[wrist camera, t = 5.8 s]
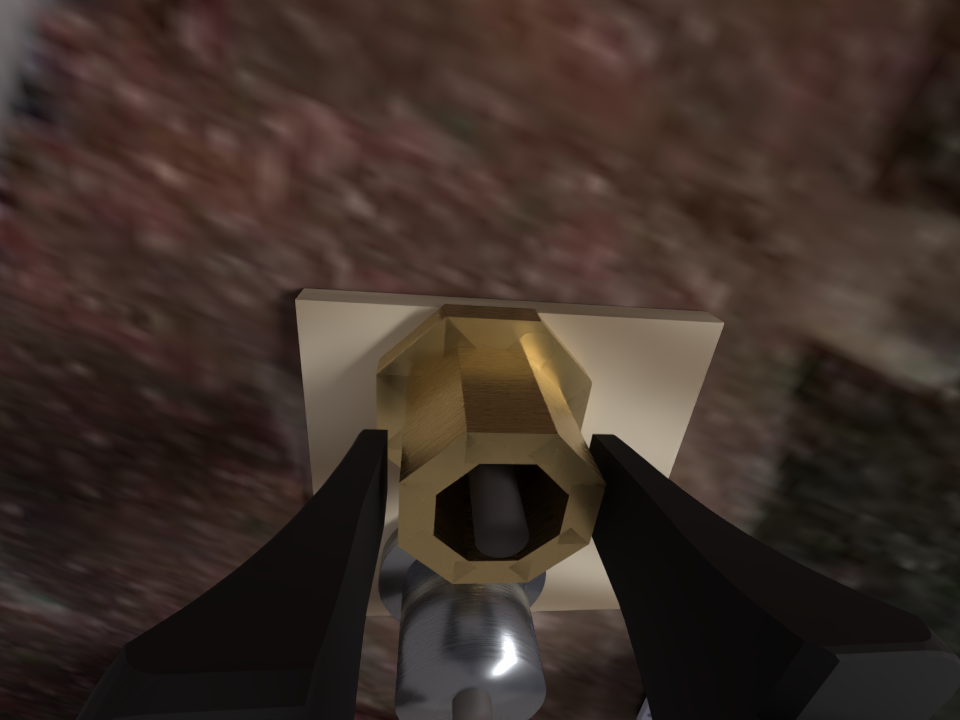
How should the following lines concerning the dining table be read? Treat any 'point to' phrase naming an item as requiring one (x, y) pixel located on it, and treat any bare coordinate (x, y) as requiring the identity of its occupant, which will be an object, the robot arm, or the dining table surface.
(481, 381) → the octagonal brass sleeve
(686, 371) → the beige peg board
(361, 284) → the dining table surface
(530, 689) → the flanged metal peg
